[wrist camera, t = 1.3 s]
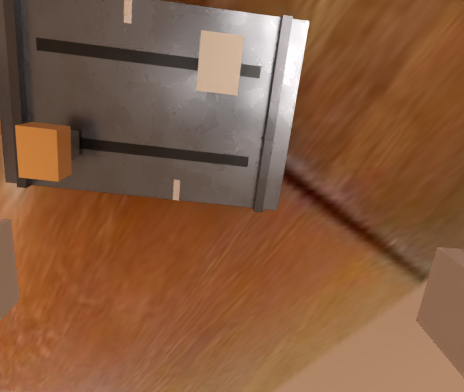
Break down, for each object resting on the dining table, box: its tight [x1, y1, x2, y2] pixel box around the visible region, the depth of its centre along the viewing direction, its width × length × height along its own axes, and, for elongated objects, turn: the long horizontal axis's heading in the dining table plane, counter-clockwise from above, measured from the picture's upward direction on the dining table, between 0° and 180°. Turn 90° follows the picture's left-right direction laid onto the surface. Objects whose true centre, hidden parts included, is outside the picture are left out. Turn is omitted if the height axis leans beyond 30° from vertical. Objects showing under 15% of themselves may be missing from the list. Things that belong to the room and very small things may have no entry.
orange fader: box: [15, 122, 80, 182], centre depth 29 cm, size 4×3×5 cm
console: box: [0, 0, 309, 212], centre depth 31 cm, size 17×26×3 cm, turn 83°
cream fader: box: [196, 30, 244, 96], centre depth 27 cm, size 4×3×5 cm
